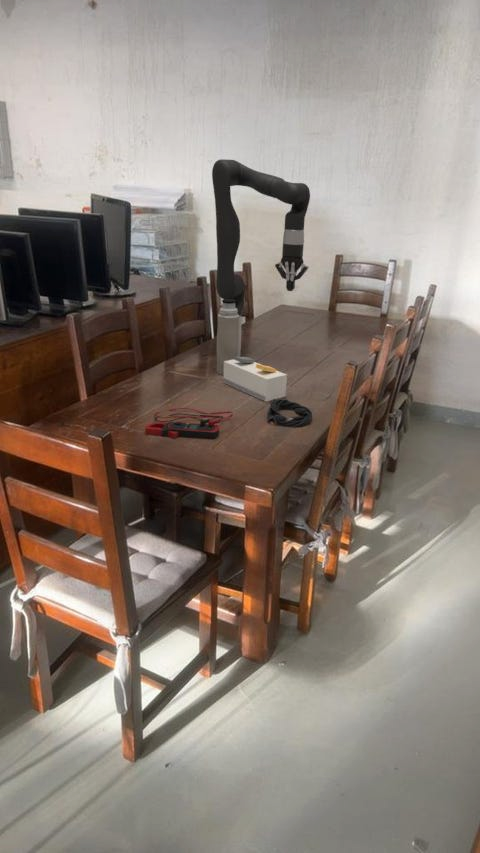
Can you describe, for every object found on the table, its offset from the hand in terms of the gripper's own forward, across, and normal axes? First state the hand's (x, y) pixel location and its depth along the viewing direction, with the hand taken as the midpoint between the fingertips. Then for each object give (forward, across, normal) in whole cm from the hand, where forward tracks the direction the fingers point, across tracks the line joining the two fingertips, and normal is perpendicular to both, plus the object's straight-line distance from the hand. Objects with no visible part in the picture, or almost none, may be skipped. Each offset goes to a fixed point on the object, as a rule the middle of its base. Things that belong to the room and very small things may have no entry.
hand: (290, 290), depth 220 cm
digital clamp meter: (+32, -4, -65) cm, 72 cm away
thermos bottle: (+31, -18, -15) cm, 39 cm away
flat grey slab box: (+22, -6, -24) cm, 34 cm away
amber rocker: (+22, +4, -30) cm, 37 cm away
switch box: (+31, -1, -27) cm, 41 cm away
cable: (+32, +20, -44) cm, 58 cm away
